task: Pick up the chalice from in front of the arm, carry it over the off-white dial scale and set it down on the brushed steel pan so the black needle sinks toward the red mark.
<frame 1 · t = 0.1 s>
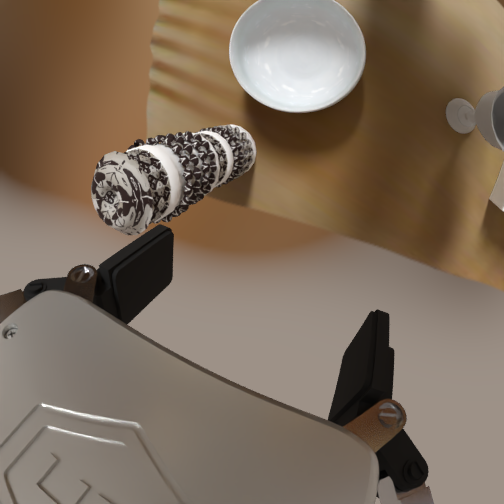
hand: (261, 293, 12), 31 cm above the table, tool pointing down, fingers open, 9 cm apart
cereal bowl: (306, 57, 32), on the table
decorative candle: (231, 150, 43), on the table
chalice: (461, 115, 27), on the table
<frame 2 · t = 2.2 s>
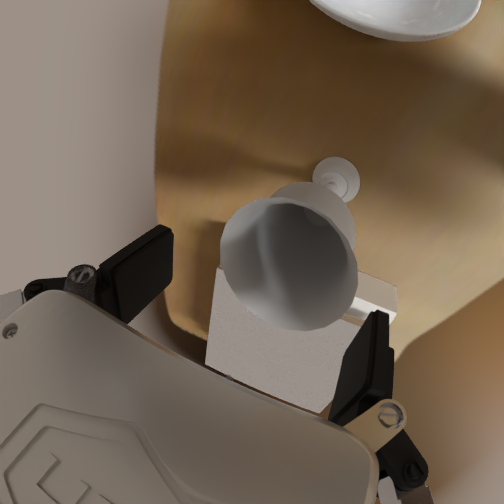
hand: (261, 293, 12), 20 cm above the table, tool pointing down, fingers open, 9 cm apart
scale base: (296, 314, 38), on the table
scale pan: (282, 346, 35), point 5 cm above the table, slide at 0.0 cm
chalice: (336, 180, 28), on the table
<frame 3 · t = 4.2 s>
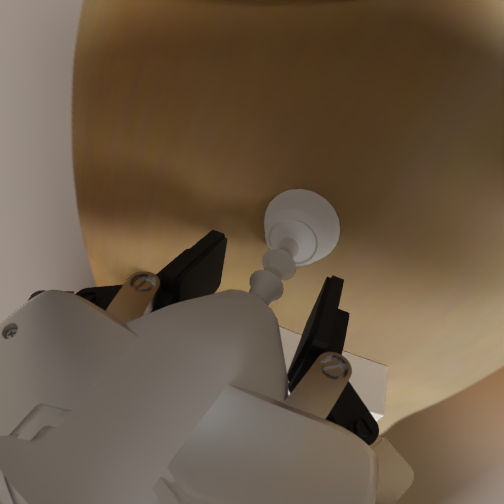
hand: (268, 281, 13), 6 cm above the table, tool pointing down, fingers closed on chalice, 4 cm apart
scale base: (257, 385, 28), on the table
chalice: (301, 226, 18), on the table, touching gripper
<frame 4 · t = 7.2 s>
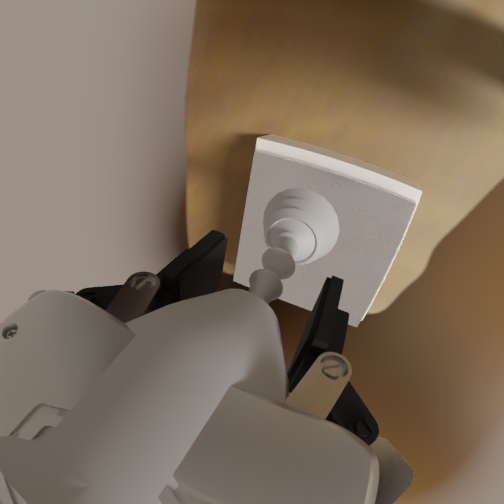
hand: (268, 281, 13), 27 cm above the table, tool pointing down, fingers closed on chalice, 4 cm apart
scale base: (324, 222, 38), on the table
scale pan: (315, 247, 35), point 5 cm above the table, slide at 0.0 cm
chalice: (300, 225, 18), point 20 cm above the table, touching gripper
when the fingers open (16 cm above the table, at t = 10.2 s): chalice drops 2 cm, resting on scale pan.
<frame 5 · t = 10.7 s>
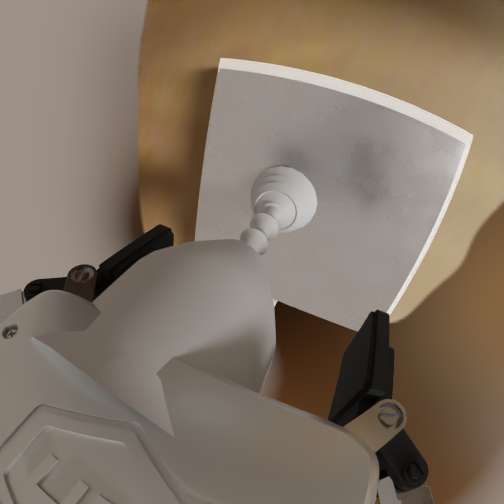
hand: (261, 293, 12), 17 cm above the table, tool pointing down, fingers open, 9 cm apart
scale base: (323, 189, 26), on the table
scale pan: (311, 215, 24), point 4 cm above the table, slide at 1.4 cm, touching chalice
chalice: (283, 199, 21), point 6 cm above the table, touching gripper, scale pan
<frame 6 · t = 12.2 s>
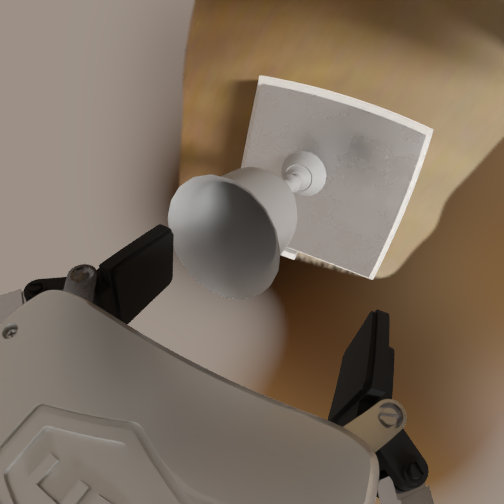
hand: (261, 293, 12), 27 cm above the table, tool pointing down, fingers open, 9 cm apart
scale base: (329, 171, 35), on the table
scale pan: (322, 188, 33), point 4 cm above the table, slide at 1.4 cm, touching chalice
chalice: (303, 173, 30), point 6 cm above the table, touching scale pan
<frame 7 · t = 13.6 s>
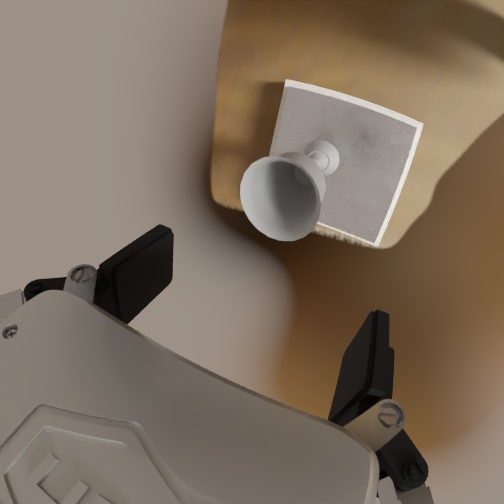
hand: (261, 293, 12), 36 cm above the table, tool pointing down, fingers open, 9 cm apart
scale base: (340, 157, 41), on the table
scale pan: (335, 170, 39), point 4 cm above the table, slide at 1.4 cm, touching chalice
chalice: (321, 157, 37), point 6 cm above the table, touching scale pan
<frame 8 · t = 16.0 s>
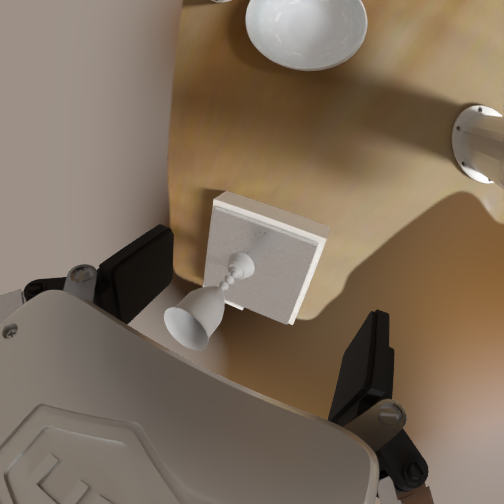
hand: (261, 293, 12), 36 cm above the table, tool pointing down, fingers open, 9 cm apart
cereal bowl: (313, 29, 33), on the table
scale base: (265, 253, 55), on the table
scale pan: (257, 269, 53), point 4 cm above the table, slide at 1.4 cm, touching chalice
chalice: (241, 264, 50), point 6 cm above the table, touching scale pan
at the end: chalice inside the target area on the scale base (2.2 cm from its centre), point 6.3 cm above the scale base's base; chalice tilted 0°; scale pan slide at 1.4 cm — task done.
